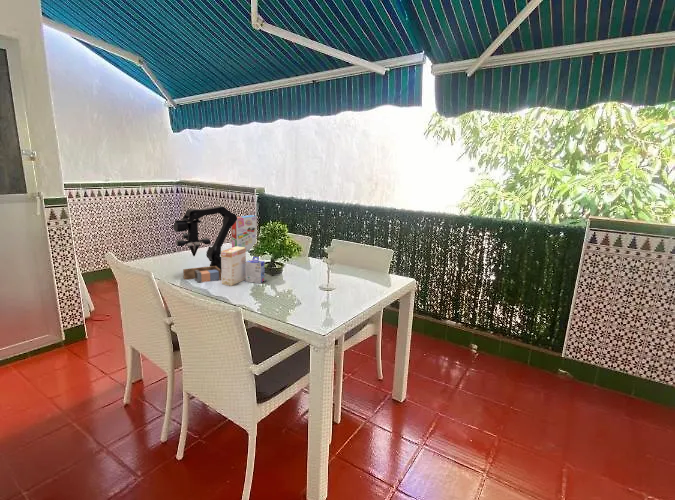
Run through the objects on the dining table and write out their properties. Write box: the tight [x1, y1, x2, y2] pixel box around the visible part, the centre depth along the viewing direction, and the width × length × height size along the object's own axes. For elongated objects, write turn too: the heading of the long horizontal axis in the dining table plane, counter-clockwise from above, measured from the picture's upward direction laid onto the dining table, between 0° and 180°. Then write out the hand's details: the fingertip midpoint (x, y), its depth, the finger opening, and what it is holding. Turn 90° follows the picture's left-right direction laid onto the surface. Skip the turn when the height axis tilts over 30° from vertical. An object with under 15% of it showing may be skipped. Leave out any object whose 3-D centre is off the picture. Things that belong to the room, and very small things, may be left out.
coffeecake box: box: [220, 246, 247, 287], centre depth 217 cm, size 15×7×20 cm, turn 160°
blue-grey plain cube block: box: [207, 270, 220, 282], centre depth 222 cm, size 5×6×5 cm
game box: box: [231, 214, 257, 252], centre depth 294 cm, size 21×6×27 cm, turn 145°
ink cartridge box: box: [245, 256, 265, 284], centre depth 220 cm, size 10×6×14 cm, turn 78°
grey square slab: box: [194, 270, 203, 283], centre depth 217 cm, size 2×6×6 cm, turn 34°
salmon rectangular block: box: [200, 271, 211, 283], centre depth 219 cm, size 5×6×5 cm
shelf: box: [183, 265, 222, 281], centre depth 220 cm, size 19×10×6 cm, turn 124°
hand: (193, 256), depth 225 cm, fingers closed
